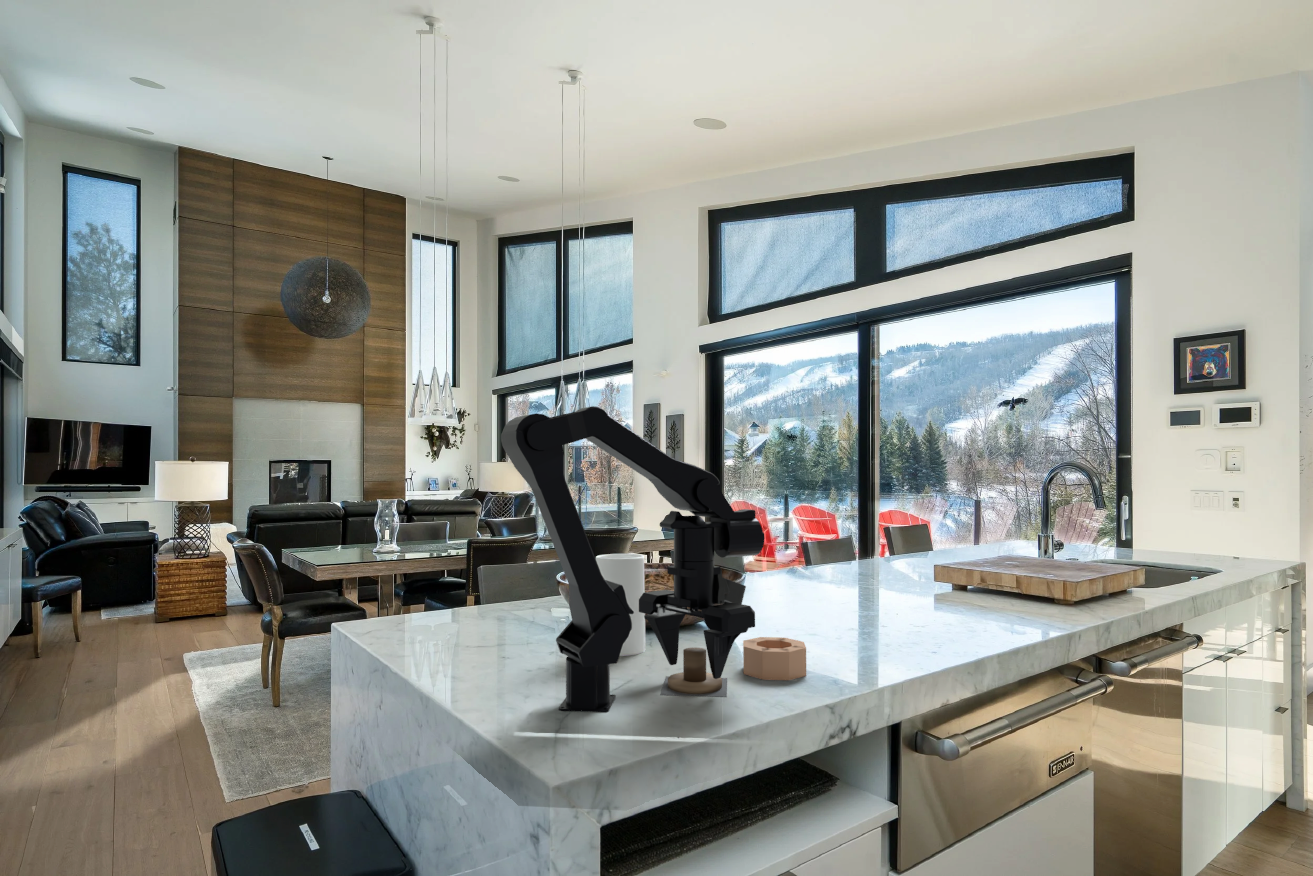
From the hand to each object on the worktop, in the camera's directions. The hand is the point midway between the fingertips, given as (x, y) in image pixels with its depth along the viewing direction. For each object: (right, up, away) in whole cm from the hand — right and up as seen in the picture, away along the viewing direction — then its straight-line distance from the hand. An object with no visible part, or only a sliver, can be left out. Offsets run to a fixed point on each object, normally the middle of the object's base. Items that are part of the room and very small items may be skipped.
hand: (694, 671), depth 106 cm
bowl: (+12, -3, +8) cm, 15 cm away
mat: (0, -3, 0) cm, 3 cm away
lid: (0, -2, 0) cm, 2 cm away
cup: (-11, -3, +21) cm, 24 cm away
